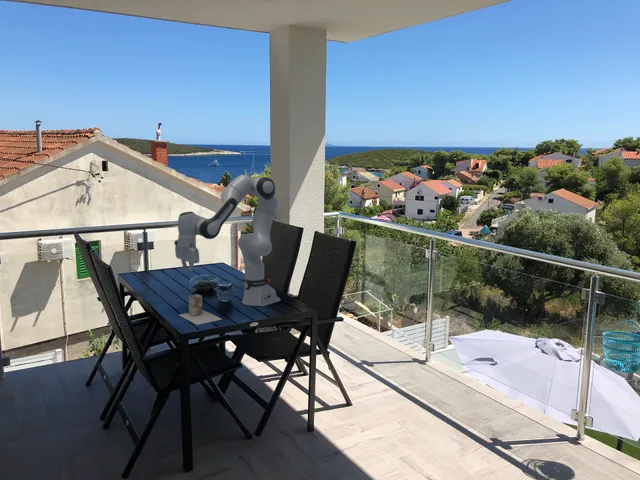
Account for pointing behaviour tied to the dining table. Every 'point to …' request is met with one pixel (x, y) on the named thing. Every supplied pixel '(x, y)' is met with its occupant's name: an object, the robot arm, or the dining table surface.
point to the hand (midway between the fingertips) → (187, 269)
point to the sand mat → (201, 318)
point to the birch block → (195, 305)
